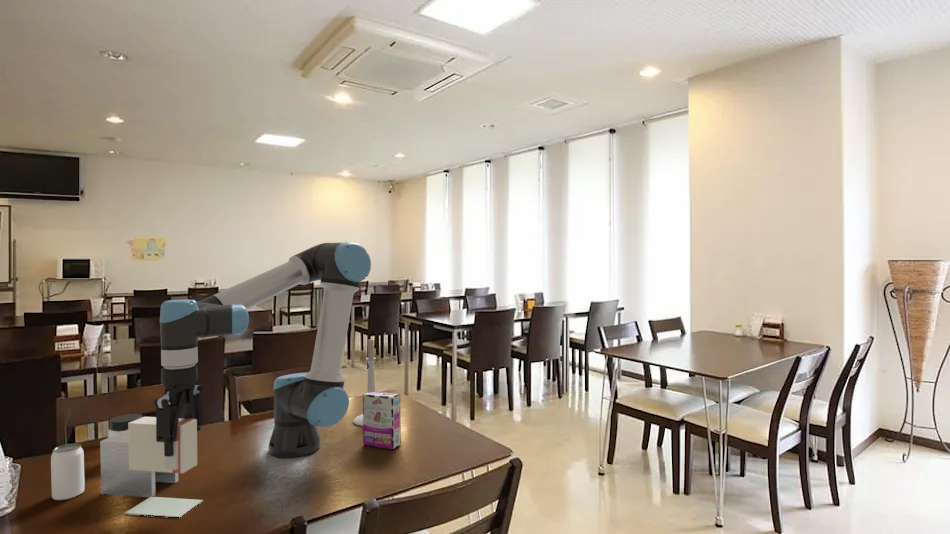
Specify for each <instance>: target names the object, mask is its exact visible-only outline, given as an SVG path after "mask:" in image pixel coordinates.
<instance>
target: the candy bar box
mask: <svg viewBox="0 0 950 534" xmlns="http://www.w3.org/2000/svg"><path fill="white" fill-rule="evenodd" d="M362 414H363V427H362V428H363V429H362V430H363V431H362V433H363V434H362V435H363V437H362V439H363V443H362V445H363V446H364V445H367V446H366V447H369V446H373V447H372V448H376V447H379V448H378V449H383V448H387V449H386V450H389V449H394V448H396V447H397V446H399V445H400V444H402V443H401V442H402V440H401V439H402V438H401V437H402V436H401V435H402V434H401V426H402V425H401V393H393V392H386V391H385V392H383V391H382V392H381V391H376V390H375V391H370V392H368V393H367V392H366V393H365V392H364V393H363V394H362ZM400 446H401V445H400ZM400 446H399V447H400ZM397 448H398V447H397ZM397 448H396V449H397ZM394 450H395V449H394Z"/></svg>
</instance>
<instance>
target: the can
mask: <svg viewBox="0 0 950 534" xmlns="http://www.w3.org/2000/svg"><path fill="white" fill-rule="evenodd" d="M50 477H51V478H50V480H51V481H50V482H51V484H50V485H51V498H52V499H53V500H54V501H66V500H67V501H68V500H70V499H75V498H76V496H77V497H79V496H80V494H81V495H82V494H83V493H84V492H85V454H84V448H82V443H70V444H69V443H68V444H64V445H63V444H62V445H60V446H57V447H55V448H54V449H52V453H51V456H50ZM78 495H79V496H78Z"/></svg>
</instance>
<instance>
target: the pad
mask: <svg viewBox="0 0 950 534" xmlns="http://www.w3.org/2000/svg"><path fill="white" fill-rule="evenodd" d="M201 502H202V503H204V499H197V498H195V499H194V498H191V499H190V498H177V497H166V496H165V497H162V496H160V497H159V496H154V497H147V498H146V499H145V500H143V501H141V502H140V503H139V504H137V505H135V506H134V507H132V508H130V509H129V510H127V511H125V512H124V515H125V514H126V515H127V514H128V516H140V515H144V516H143V517H149V516H148V515H151V516H150V517H154V516H165V517H164V518H168V517H179V518H178V519H181V518H183V517H184V516H185V515H187V514H188V513H189V512H188V511H190V510H191V509H192V508H194V507H195V506H196V507H198V506H199V505H201V504H202V503H201ZM198 504H199V505H198ZM197 505H198V506H197ZM196 507H195V508H196ZM195 508H194V509H195ZM192 510H193V509H192ZM192 510H191V511H192ZM191 511H190V512H191ZM187 512H188V513H187ZM186 513H187V514H186ZM184 514H185V515H184ZM146 515H147V516H146ZM152 515H153V516H152ZM183 515H184V516H183ZM182 516H183V517H182ZM180 517H181V518H180Z"/></svg>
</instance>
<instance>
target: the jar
mask: <svg viewBox="0 0 950 534" xmlns="http://www.w3.org/2000/svg"><path fill="white" fill-rule="evenodd" d="M142 417H144V416H143V415H142V414H140V413H130V414H129V413H128V414H122V415H118V416H114V417H112V418H111V419H110V420H109V429H108V430H107V436H108V437H107V438H109V437H111V436H114V435H116V434H118V433H121V432H123V431H125V430H128V423H130V422H132V421H135V420H137V419H140V418H142Z"/></svg>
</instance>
